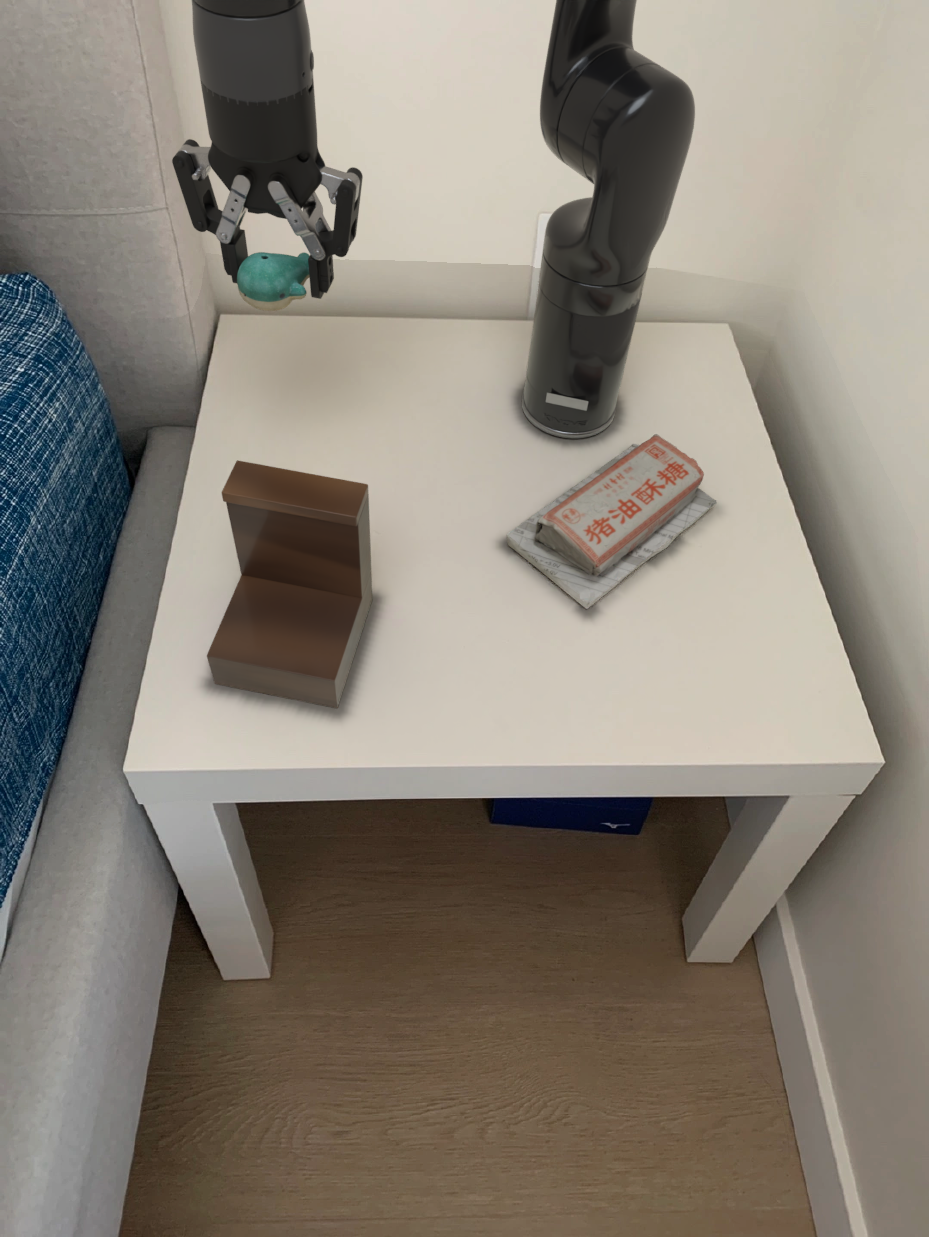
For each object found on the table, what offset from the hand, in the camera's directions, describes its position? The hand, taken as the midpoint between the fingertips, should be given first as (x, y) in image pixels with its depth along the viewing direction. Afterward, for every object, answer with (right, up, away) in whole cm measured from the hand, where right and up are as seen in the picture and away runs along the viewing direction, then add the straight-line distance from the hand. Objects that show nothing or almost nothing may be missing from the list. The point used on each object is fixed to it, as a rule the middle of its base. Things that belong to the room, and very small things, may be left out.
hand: (280, 284), depth 79 cm
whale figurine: (0, 0, +1) cm, 1 cm away
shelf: (+1, -29, +1) cm, 29 cm away
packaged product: (+28, -19, +10) cm, 35 cm away
